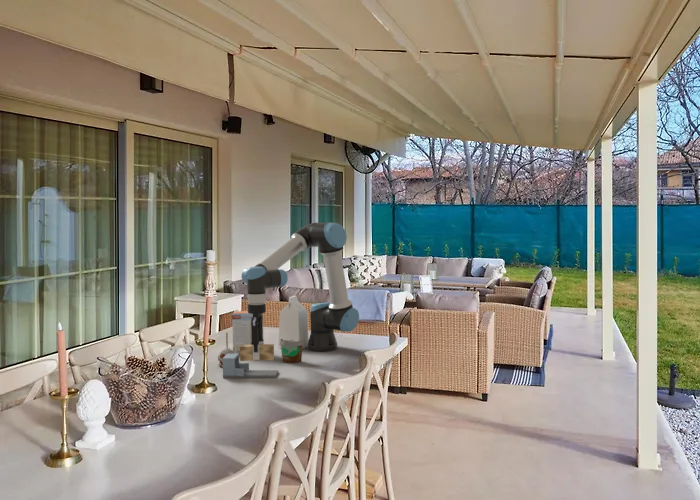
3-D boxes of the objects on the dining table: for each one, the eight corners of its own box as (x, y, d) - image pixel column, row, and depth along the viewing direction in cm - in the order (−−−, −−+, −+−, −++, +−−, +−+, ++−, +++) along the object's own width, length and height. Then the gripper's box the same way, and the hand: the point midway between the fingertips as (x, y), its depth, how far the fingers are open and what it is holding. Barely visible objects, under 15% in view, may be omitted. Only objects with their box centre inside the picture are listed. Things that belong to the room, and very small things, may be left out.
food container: (274, 362, 282) (273, 340, 282) (281, 359, 288) (281, 338, 287) (296, 364, 277) (296, 343, 276) (304, 361, 282) (303, 340, 281)
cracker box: (264, 353, 300) (263, 310, 299) (261, 356, 294) (260, 312, 293) (236, 352, 302) (235, 310, 300) (232, 355, 296) (231, 312, 294)
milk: (288, 343, 321) (287, 294, 319) (308, 345, 317) (308, 295, 315) (278, 348, 310) (277, 297, 308) (299, 350, 306) (298, 298, 304)
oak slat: (273, 357, 262) (273, 343, 262) (273, 360, 258) (273, 346, 258) (240, 358, 260) (240, 344, 260) (240, 360, 256) (239, 346, 256)
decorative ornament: (217, 368, 272) (216, 334, 271) (220, 363, 280) (219, 331, 279) (235, 367, 273) (234, 334, 272) (237, 363, 281) (236, 331, 280)
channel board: (278, 371, 265) (278, 352, 264) (274, 378, 254) (274, 359, 253) (228, 371, 266) (228, 352, 265) (222, 378, 255) (221, 359, 254)
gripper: (252, 300, 267) (252, 353, 268) (243, 306, 249) (244, 363, 251) (269, 300, 266) (269, 353, 268) (261, 306, 249) (262, 363, 250)
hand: (257, 358), depth 259 cm, fingers closed on oak slat, 4 cm apart
